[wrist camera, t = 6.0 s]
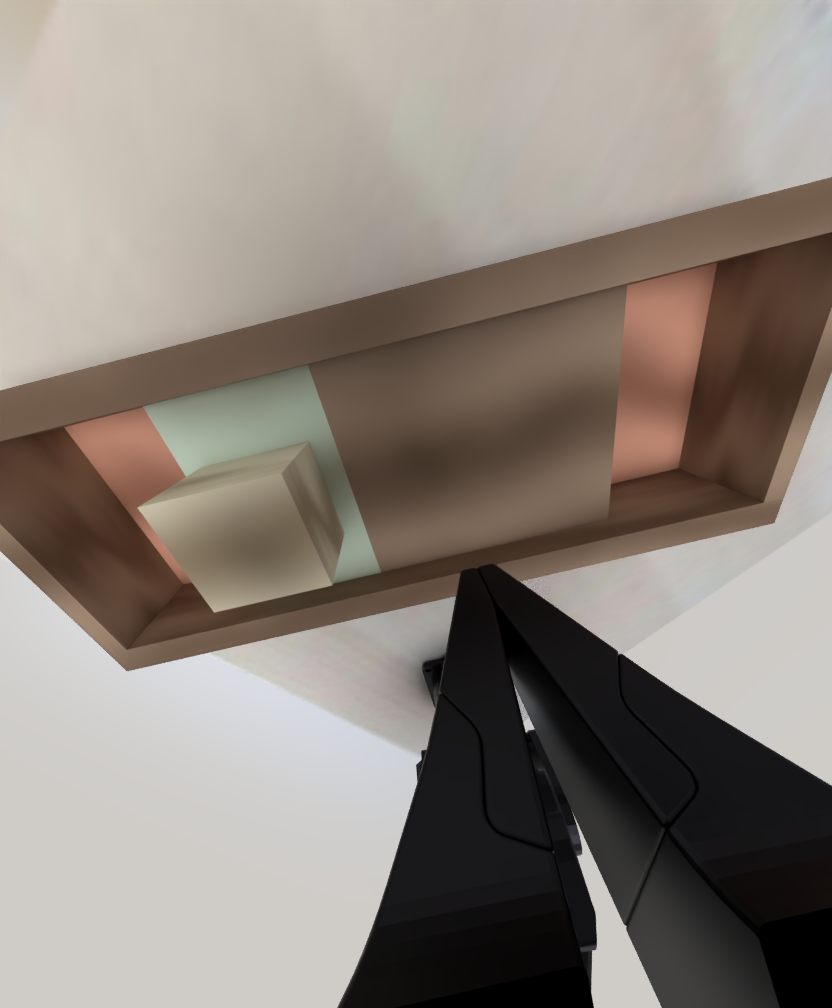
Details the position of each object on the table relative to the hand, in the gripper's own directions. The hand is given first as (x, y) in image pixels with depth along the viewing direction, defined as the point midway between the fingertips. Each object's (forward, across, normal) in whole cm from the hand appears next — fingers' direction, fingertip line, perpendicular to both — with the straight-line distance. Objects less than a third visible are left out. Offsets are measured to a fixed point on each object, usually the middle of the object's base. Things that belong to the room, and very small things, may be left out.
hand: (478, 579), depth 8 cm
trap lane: (+12, +1, 0) cm, 12 cm away
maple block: (+8, +8, 0) cm, 11 cm away
